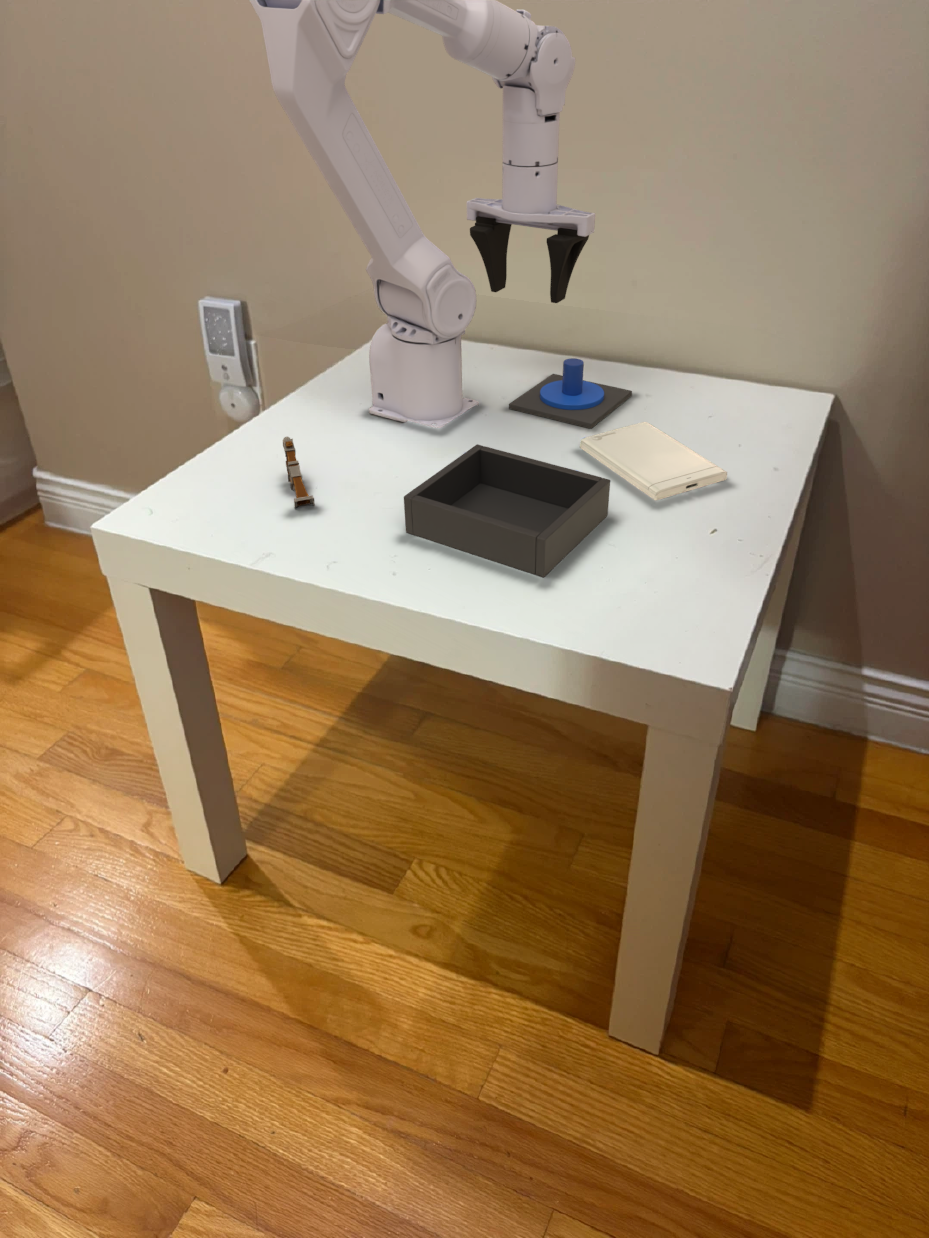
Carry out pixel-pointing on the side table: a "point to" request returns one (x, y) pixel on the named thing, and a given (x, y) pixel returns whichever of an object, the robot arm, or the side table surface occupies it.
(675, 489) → the hard drive
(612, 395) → the mat
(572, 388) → the lid
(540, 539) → the tray
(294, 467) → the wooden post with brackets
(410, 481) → the side table surface
